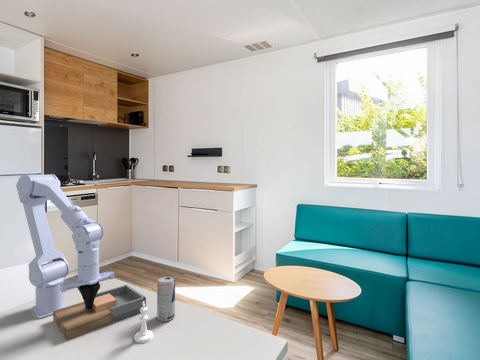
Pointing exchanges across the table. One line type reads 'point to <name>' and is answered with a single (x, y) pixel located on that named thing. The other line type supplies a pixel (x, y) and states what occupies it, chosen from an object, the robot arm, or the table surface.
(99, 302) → the terracotta tile
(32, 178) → the robot arm
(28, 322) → the table surface
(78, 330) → the walnut plate
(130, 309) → the tray
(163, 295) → the energy drink
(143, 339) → the chess piece
